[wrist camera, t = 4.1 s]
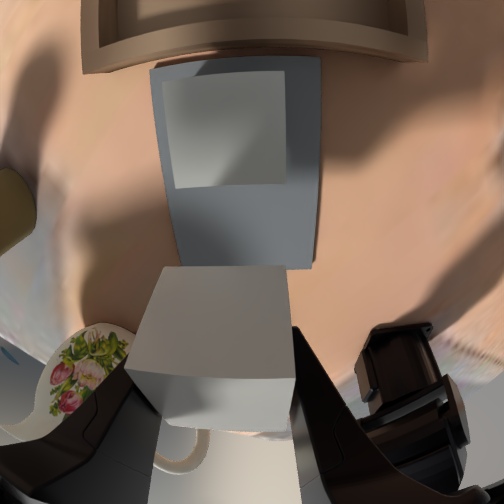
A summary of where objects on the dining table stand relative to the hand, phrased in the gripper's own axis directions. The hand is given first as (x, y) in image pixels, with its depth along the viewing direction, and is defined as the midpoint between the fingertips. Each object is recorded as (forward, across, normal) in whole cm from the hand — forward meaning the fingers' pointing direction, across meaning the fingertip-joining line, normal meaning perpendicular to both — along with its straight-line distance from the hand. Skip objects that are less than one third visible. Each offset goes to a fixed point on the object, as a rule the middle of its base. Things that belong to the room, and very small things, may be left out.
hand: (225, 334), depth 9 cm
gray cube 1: (+1, 0, 0) cm, 1 cm away
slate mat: (+8, 0, -3) cm, 8 cm away
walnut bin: (+8, -1, -17) cm, 19 cm away
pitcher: (+8, +12, +13) cm, 19 cm away
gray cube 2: (+7, 0, -6) cm, 9 cm away
